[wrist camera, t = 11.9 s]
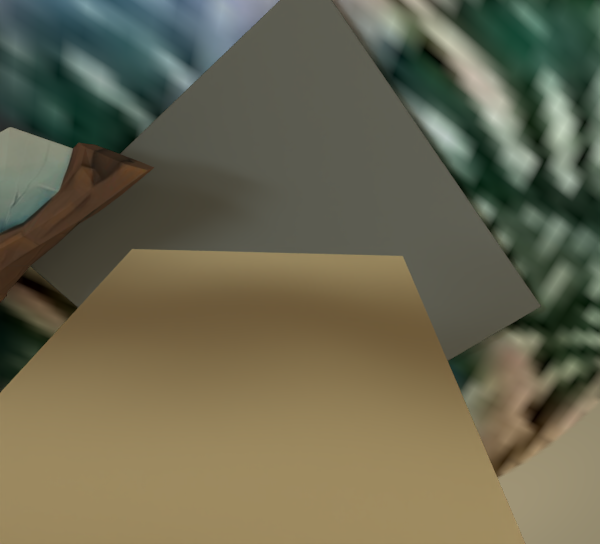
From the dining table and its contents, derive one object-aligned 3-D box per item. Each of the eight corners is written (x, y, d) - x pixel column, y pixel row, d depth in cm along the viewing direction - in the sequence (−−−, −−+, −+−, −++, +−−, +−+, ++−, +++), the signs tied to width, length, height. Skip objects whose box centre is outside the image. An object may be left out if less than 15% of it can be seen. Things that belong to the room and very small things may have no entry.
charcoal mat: (265, 460, 25) (264, 468, 25) (22, 249, 20) (15, 254, 20) (535, 300, 21) (541, 306, 20) (311, -28, 16) (311, -30, 15)
